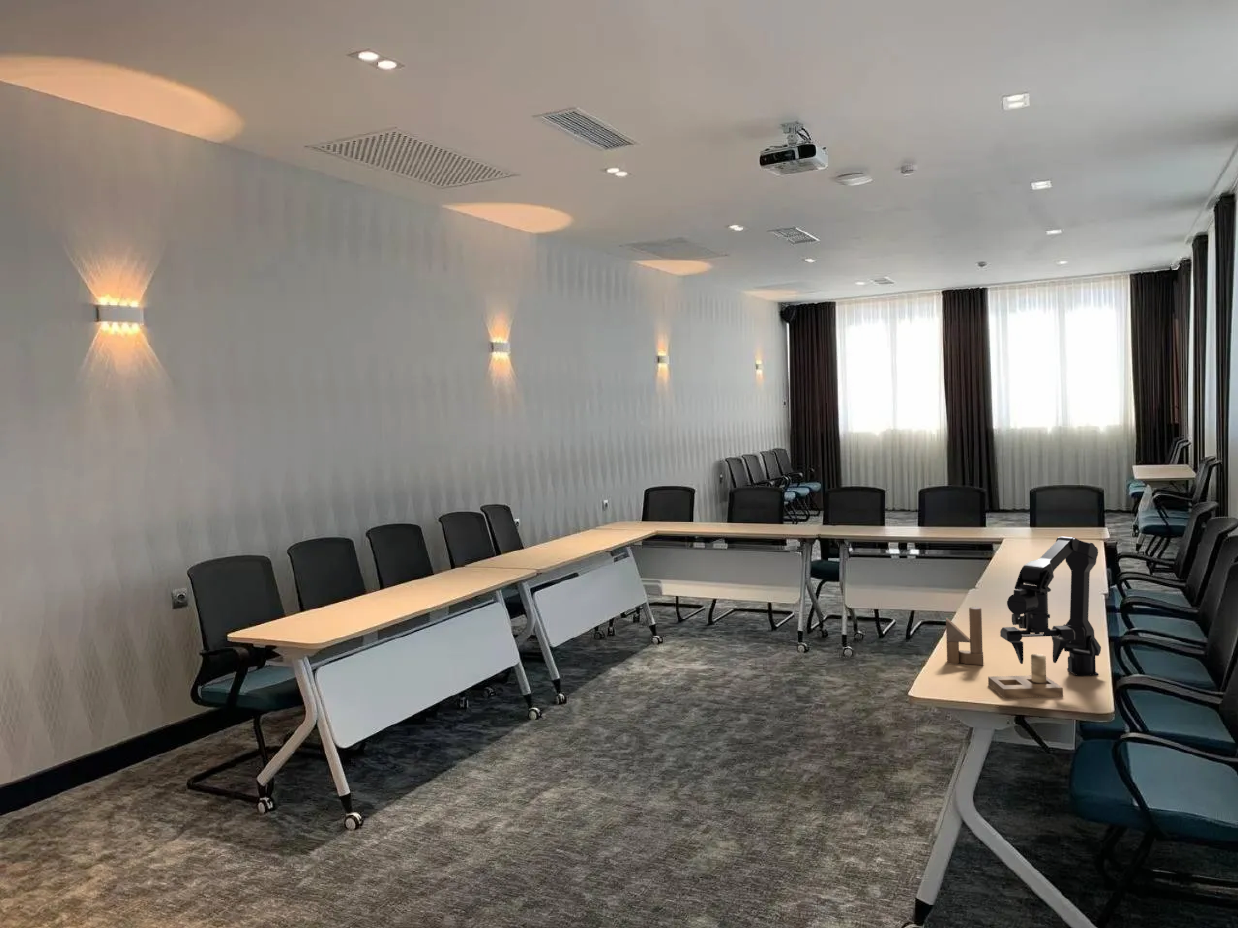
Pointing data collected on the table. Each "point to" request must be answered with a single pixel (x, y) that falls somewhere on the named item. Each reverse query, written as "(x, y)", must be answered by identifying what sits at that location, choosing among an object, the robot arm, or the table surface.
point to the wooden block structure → (965, 640)
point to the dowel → (1038, 669)
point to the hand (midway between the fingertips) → (1037, 663)
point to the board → (1023, 687)
